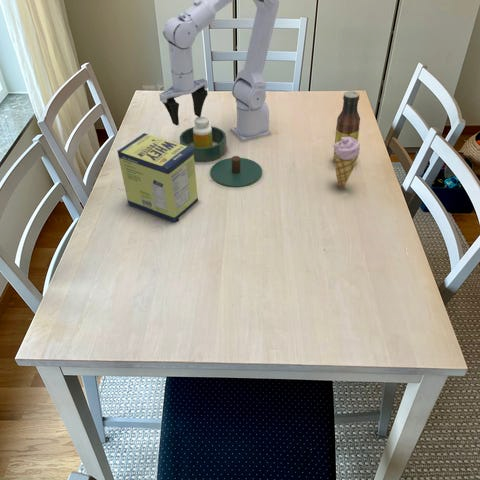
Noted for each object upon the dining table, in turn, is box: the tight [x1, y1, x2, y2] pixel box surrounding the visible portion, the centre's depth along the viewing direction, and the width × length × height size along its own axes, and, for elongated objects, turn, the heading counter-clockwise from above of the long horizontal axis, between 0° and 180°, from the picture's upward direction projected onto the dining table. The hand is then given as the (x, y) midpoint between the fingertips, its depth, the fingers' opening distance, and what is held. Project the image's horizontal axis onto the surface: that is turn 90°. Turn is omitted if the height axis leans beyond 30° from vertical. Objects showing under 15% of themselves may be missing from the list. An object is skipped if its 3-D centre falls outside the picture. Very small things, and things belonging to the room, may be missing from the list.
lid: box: [209, 155, 263, 188], centre depth 137 cm, size 14×14×5 cm
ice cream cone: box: [331, 137, 361, 189], centre depth 128 cm, size 7×6×15 cm
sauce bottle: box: [333, 90, 361, 163], centre depth 135 cm, size 7×6×20 cm
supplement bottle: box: [193, 116, 214, 148], centre depth 143 cm, size 5×5×10 cm
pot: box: [179, 125, 228, 163], centre depth 145 cm, size 13×14×5 cm
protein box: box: [117, 132, 199, 223], centre depth 124 cm, size 10×16×16 cm
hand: (186, 119), depth 139 cm, fingers open, 7 cm apart
